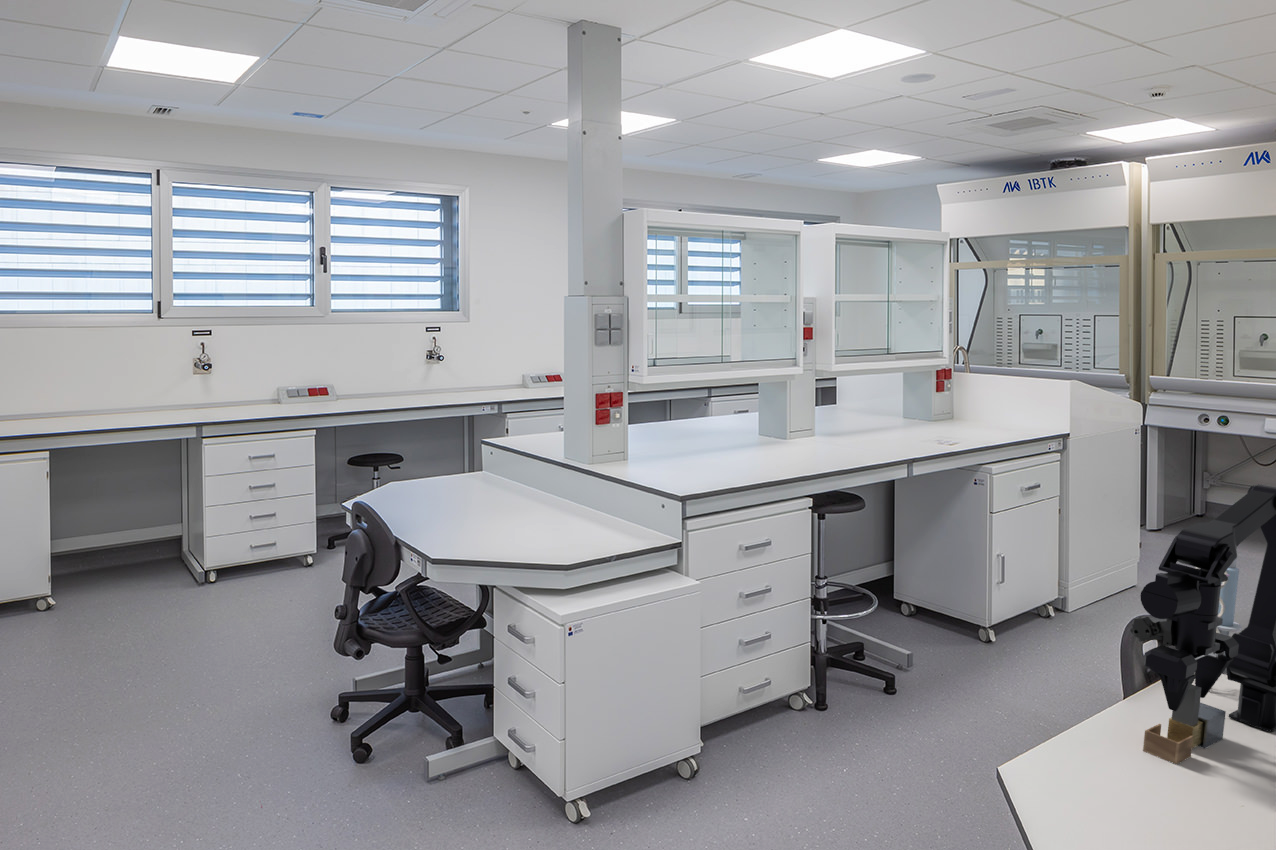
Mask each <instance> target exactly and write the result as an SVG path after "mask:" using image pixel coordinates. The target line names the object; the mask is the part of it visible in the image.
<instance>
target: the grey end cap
mask: <svg viewBox="0 0 1276 850" xmlns="http://www.w3.org/2000/svg"><path fill="white" fill-rule="evenodd" d="M1226 712H1227V711H1226V710H1223V709H1220V708H1217V707H1214V706H1211V705H1208V704H1206V703H1203V702H1200V707H1199V716H1198V719H1200V720H1203V721H1206V722H1205V731H1204V740H1203V743H1201V744H1199V745H1198V746H1197V747H1199V748H1202V749H1207V748H1209V747H1210V746H1212V745H1214V744H1216V743H1218V742H1220V741H1221V740H1223V739H1224V732H1225V731H1224V729H1225V721H1226Z"/></svg>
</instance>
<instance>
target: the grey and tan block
mask: <svg viewBox="0 0 1276 850" xmlns="http://www.w3.org/2000/svg"><path fill="white" fill-rule="evenodd" d="M1200 703H1201V687H1198V686H1195V685H1194V684H1192V685H1191V686H1190V688H1189V690H1188V692H1187V694H1186V696H1185V698H1184V699H1183V701H1182V703H1181V705H1180V707H1179V708H1178V710H1177V711H1173V710H1171V711H1172V712H1171V713H1172V714H1171V717H1169V718H1168V726H1167V734H1166V738H1168V739H1171V740H1173V741H1176V742H1180V741H1182V740H1183V739H1185V738H1187V737H1189V736H1193V741H1192V749H1194V748H1196V747H1199V746H1198V745H1199V744H1201V743H1203V740H1204V731H1205V722H1206V721H1203V720H1200V719H1198V716H1199V707H1200Z"/></svg>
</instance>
